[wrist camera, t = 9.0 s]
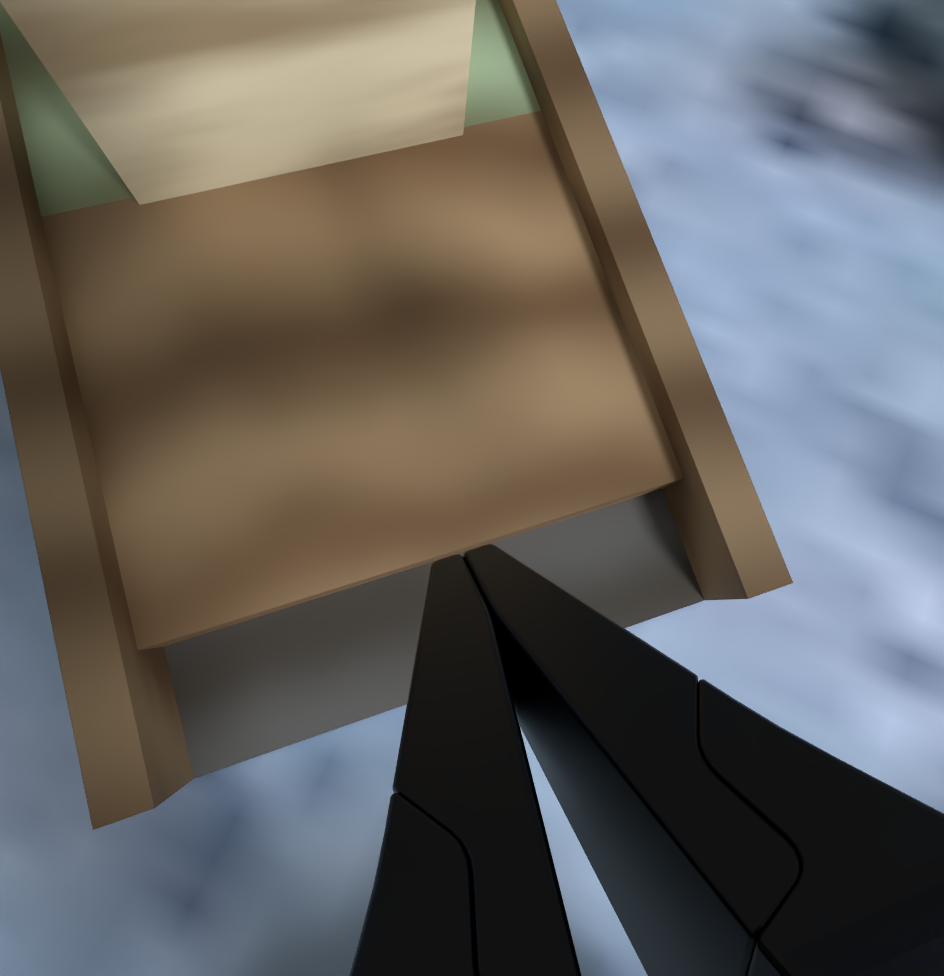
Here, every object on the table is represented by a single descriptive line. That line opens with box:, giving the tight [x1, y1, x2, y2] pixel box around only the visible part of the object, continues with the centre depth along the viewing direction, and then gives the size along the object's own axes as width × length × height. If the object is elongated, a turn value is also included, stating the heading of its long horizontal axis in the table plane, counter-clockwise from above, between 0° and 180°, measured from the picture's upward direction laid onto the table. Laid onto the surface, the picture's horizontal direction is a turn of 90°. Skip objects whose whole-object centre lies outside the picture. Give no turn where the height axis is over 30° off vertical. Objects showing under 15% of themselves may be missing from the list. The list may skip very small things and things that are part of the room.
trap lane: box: [0, 0, 793, 830], centre depth 20 cm, size 36×20×4 cm, turn 18°
